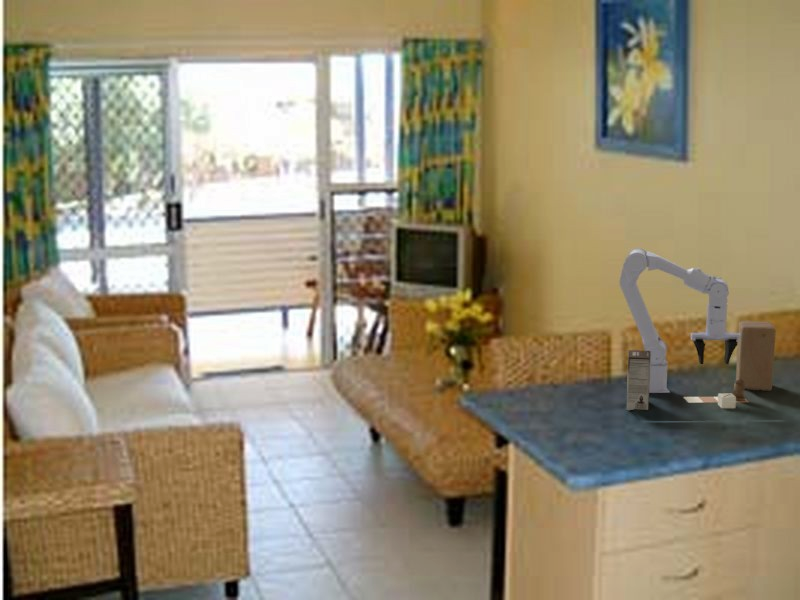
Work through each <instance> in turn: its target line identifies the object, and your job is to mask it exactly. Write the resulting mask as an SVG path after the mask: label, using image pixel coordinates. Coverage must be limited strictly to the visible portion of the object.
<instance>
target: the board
mask: <svg viewBox="0 0 800 600" xmlns="http://www.w3.org/2000/svg"><path fill="white" fill-rule="evenodd" d="M683 399H684V400H685V401H686V402H687V403H690V404H693V403H695V404H696V403H699V404H700V403H701V404H702V403H704V404H705V403H706V404H707V403H708V404H709V403H716V404H718V396H683ZM736 403H750V401H749V400H747V399H746V398H745V401H736Z"/></svg>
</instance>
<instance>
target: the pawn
mask: <svg viewBox="0 0 800 600" xmlns="http://www.w3.org/2000/svg"><path fill="white" fill-rule="evenodd" d="M733 383H734V384H733V395H734V396H735V397H736V401H745V399H746V396H745V383H744V380H743V379H741V378H738V379H736V378H735V381H734V382H733Z"/></svg>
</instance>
